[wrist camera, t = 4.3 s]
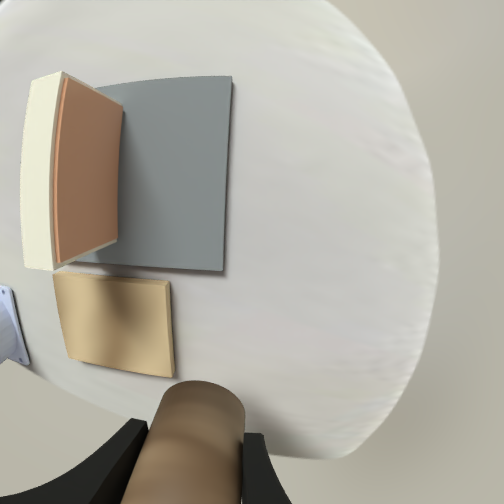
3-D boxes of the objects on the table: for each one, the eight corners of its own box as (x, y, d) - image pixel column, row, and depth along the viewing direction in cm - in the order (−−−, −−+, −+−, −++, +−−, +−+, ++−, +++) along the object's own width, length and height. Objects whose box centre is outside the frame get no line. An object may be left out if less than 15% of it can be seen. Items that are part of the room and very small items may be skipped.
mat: (63, 258, 18) (60, 259, 18) (68, 95, 16) (65, 94, 16) (223, 269, 18) (222, 270, 18) (232, 78, 16) (231, 76, 16)
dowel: (166, 433, 11) (127, 556, 5) (156, 375, 11) (90, 519, 4) (243, 441, 11) (237, 575, 5) (246, 384, 11) (239, 549, 4)
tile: (91, 240, 18) (24, 267, 11) (96, 107, 16) (31, 80, 9) (120, 241, 18) (57, 271, 11) (125, 103, 16) (65, 69, 9)
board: (74, 352, 20) (68, 357, 19) (59, 271, 19) (52, 274, 18) (175, 369, 20) (172, 377, 19) (169, 280, 19) (165, 285, 18)
